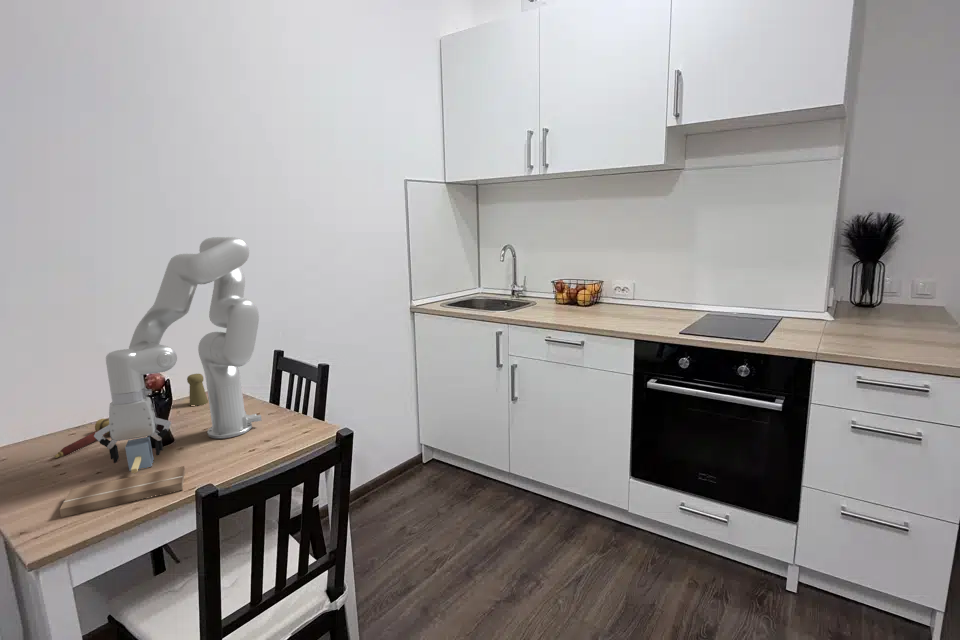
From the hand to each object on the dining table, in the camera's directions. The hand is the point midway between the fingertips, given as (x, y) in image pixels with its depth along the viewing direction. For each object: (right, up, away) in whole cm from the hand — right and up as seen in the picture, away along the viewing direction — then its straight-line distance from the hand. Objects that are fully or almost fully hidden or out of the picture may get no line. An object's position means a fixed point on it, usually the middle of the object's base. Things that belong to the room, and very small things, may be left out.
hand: (137, 457), depth 140 cm
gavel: (-25, -1, +17) cm, 31 cm away
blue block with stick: (+2, -3, -2) cm, 5 cm away
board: (+6, -5, -14) cm, 16 cm away
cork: (-10, +6, +49) cm, 50 cm away
